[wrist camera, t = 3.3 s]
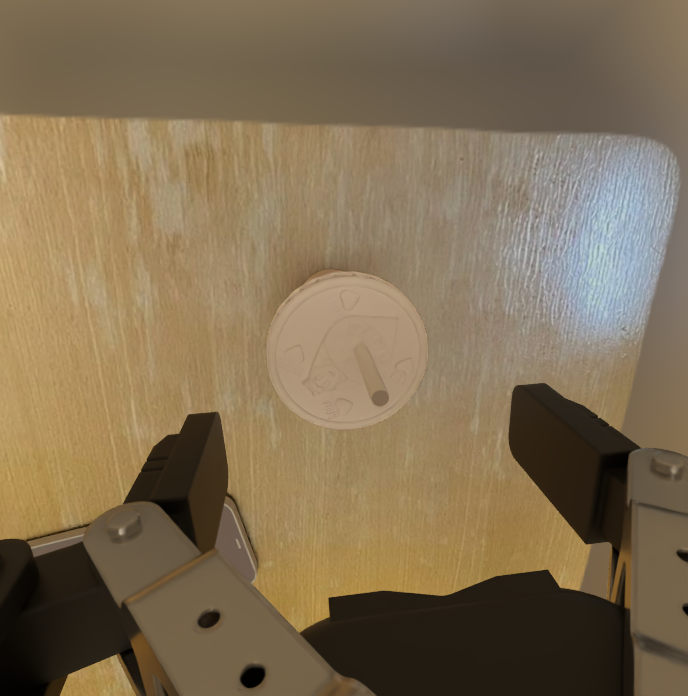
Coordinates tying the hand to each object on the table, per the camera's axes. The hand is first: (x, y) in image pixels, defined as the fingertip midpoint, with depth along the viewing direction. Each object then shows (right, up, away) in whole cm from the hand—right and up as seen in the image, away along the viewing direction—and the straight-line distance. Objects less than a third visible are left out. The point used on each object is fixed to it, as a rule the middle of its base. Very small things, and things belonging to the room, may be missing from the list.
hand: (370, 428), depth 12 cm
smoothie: (-1, +5, +14) cm, 15 cm away
